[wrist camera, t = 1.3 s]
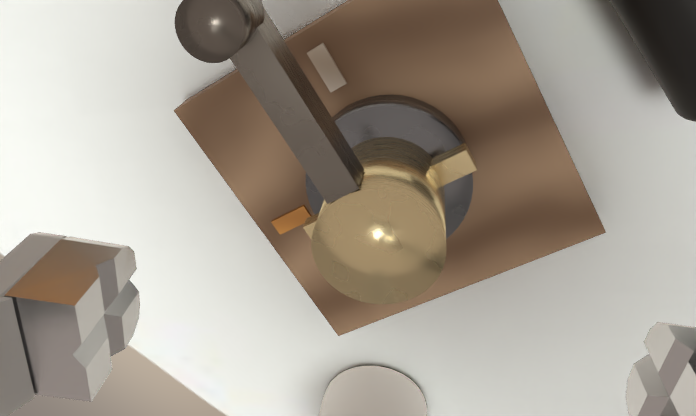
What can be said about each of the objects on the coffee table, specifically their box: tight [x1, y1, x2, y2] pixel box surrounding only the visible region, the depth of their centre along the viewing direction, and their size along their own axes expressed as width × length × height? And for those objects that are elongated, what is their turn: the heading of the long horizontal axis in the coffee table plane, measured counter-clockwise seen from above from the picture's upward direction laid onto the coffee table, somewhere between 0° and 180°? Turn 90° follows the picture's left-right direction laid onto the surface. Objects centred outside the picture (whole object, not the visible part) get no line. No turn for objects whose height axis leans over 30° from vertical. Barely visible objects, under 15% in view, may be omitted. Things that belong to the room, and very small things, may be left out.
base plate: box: [174, 0, 606, 336], centre depth 34 cm, size 18×18×2 cm
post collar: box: [305, 95, 473, 239], centre depth 32 cm, size 9×9×2 cm
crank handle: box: [175, 0, 477, 304], centre depth 26 cm, size 16×10×8 cm, turn 31°
